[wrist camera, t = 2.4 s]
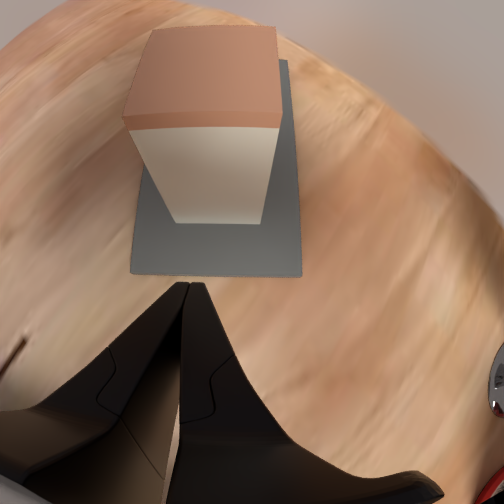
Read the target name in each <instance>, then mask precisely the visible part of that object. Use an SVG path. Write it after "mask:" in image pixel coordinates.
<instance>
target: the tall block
mask: <svg viewBox="0 0 504 504" xmlns="http://www.w3.org/2000/svg"><path fill="white" fill-rule="evenodd" d="M282 114H283V111H282V96H281V83H280V71H279V59H278V47H277V37H276V27H271V26H251V25H210V26H189V27H176V28H166V29H157V30H153V31H152V33H151V35H150V38H149V40H148V43H147V45H146V48H145V50H144V53H143V55H142V58H141V60H140V63H139V66H138V69H137V71H136V74H135V77H134V80H133V83H132V86H131V89H130V92H129V95H128V98H127V101H126V104H125V107H124V111H123V114H122V118H123V120H124V122H125V125H126V127H127V129H128V131H129V133H130V135H131V137H132V139H133V141H134V143H135V145H136V147H137V149H138V151H139V153H140V155H141V157H142V159H143V161H144V163H145V165H146V167H147V169H148V171H149V173H150V175H151V177H152V179H153V181H154V183H155V185H156V187H157V189H158V191H159V193H160V195H161V196H162V198H163V200H164V202H165V204H166V206H167V208H168V210H169V212H170V214H171V215H172V217H173V219H174V221H175V223H204V224H260V222H261V217H262V213H263V208H264V203H265V198H266V193H267V188H268V183H269V178H270V173H271V168H272V163H273V158H274V153H275V148H276V144H277V139H278V134H279V129H280V124H281V119H282Z"/></svg>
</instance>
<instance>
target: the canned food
mask: <svg viewBox="0 0 504 504" xmlns="http://www.w3.org/2000/svg"><path fill="white" fill-rule="evenodd" d="M502 490H504V467H503V468H502V469H500V470H499V471H498V472H497V473H496V474H495V475H494V476H493V477H492V478H491V480H490V481H489V482H488V483H487V485H486V486H485V488H484V489H483V490H482V492H481V494H480V495H479V497H478V499H477V501H476V502H475V504H480V503H482V502H484V501H485V500H487V499H489V498H491V497H492V496H494V495H496V494H497V493H499V492H501V491H502Z"/></svg>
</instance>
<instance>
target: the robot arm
mask: <svg viewBox="0 0 504 504" xmlns="http://www.w3.org/2000/svg"><path fill="white" fill-rule="evenodd" d="M108 347H109V348H108ZM108 347H106V348H105V349H104V350H103V351H102V352H101V353H100V354H99V355H98V356H97V357H96V358H95V359H94V360H92V361H91V362H90V363H89V364H88V365H87V366H86V367H85V368H83V369H82V370H81V371H80V372H78V373H77V374H76V375H75V376H74V377H72V378H71V379H70V380H68V381H67V382H66V383H65V384H63V385H62V386H61V387H60V388H58V389H57V390H56V391H54V392H53V393H52V394H51V395H49V396H48V397H47V398H46V399H44V400H43V401H41V402H40V403H38V404H37V405H35V406H33V407H30V408H27V409H22V410H14V411H3V412H0V504H161V499H162V493H163V487H164V480H165V474H166V468H167V463H168V457H169V451H170V446H171V441H172V435H173V430H174V425H175V419H176V414H177V409H178V404H179V424H180V433H179V446H178V451H177V455H176V459H175V464H174V468H173V473H172V477H171V481H170V486H169V490H168V495H167V500H166V504H433V503H435V502H436V501H438V500H440V499H441V498H443V497H444V495H445V494H444V492H443V491H442V489H441V488H440V487H439V486H438V485H437V484H436V483H435V482H434V481H433V480H431V479H430V478H428V477H427V476H425V475H424V474H422V473H421V472H419V471H405V472H401V473H396V474H393V475H389V476H385V477H380V478H362V477H357V476H353V475H351V474H349V473H346V472H344V471H343V470H341V469H339V468H337V467H335V466H334V465H332V464H330V463H328V462H326V461H325V460H323V459H321V458H320V457H318V456H316V455H314V454H313V453H311V452H309V451H308V450H306V449H305V448H303V447H301V446H300V445H298V444H297V443H296V442H294V441H293V440H292V439H291V438H290V437H289V436H288V435H287V434H286V432H285V431H284V430H283V429H282V428H281V426H280V425H279V424H278V422H277V421H276V420H275V418H274V417H273V415H272V414H271V413H270V411H269V410H268V409H267V407H266V406H265V404H264V403H263V402H262V400H261V399H260V397H259V396H258V394H257V393H256V391H255V390H254V388H253V387H252V385H251V384H250V382H249V380H248V379H247V377H246V375H245V373H244V371H243V369H242V367H241V365H240V363H239V361H238V359H237V357H236V356H235V353H234V350H233V348H232V346H231V344H230V341H229V339H228V337H227V335H226V332H225V330H224V328H223V326H222V323H221V321H220V319H219V316H218V314H217V312H216V309H215V307H214V305H213V302H212V300H211V298H210V295H209V293H208V290H207V288H206V286H205V284H204V283H203V282H192V283H191V284H190V283H189V282H176V283H175V284H174V285H172V286H171V287H170V288H169V289H168V290H167V291H166V292H165V293H164V294H163V295H162V296H160V297H159V298H158V299H157V300H156V301H155V302H154V303H153V304H152V305H151V306H150V307H149V308H148V309H147V310H145V311H144V312H143V313H142V314H141V315H140V316H139V317H138V318H137V319H136V320H135V321H134V322H133V323H132V324H131V325H129V326H128V327H127V328H126V329H125V330H124V331H123V332H122V333H121V334H120V335H119V336H118V337H117V338H116V339H115V340H114V341H113V342H112V343H111V344H110V345H109V346H108ZM480 504H504V490H502V491H501V492H499V493H497V494H496V495H494V496H492V497H491V498H489V499H487V500H485V501H484V502H482V503H480Z"/></svg>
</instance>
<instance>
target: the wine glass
mask: <svg viewBox="0 0 504 504" xmlns="http://www.w3.org/2000/svg"><path fill="white" fill-rule="evenodd" d="M488 398H489V404H490V407H491V409H492V411H493V413H494V414H495V415H496V416H498V417H503V418H504V344H503V345H502V346H501V348H500V350H499V351H498V353H497V355H496V357H495V359H494V362H493V365H492V369H491V372H490V377H489V385H488Z"/></svg>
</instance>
